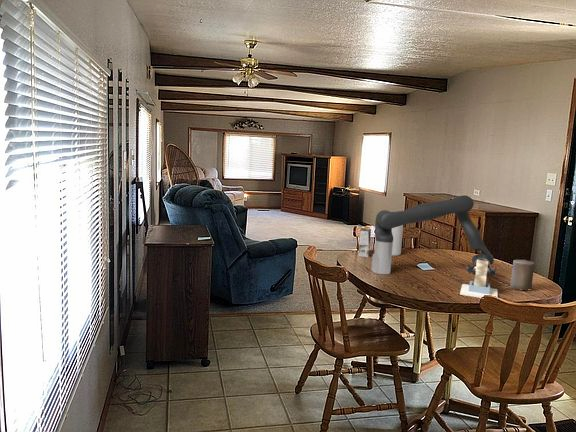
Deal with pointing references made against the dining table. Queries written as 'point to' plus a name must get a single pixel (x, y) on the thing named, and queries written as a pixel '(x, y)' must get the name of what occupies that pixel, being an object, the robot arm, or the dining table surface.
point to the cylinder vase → (397, 240)
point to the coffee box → (364, 242)
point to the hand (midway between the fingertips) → (481, 274)
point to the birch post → (481, 273)
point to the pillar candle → (522, 274)
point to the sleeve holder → (477, 290)
